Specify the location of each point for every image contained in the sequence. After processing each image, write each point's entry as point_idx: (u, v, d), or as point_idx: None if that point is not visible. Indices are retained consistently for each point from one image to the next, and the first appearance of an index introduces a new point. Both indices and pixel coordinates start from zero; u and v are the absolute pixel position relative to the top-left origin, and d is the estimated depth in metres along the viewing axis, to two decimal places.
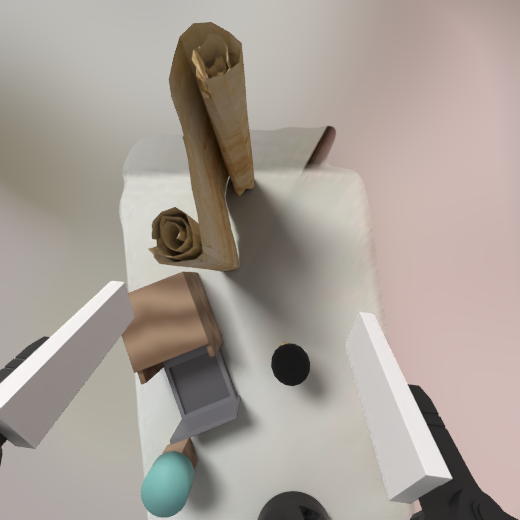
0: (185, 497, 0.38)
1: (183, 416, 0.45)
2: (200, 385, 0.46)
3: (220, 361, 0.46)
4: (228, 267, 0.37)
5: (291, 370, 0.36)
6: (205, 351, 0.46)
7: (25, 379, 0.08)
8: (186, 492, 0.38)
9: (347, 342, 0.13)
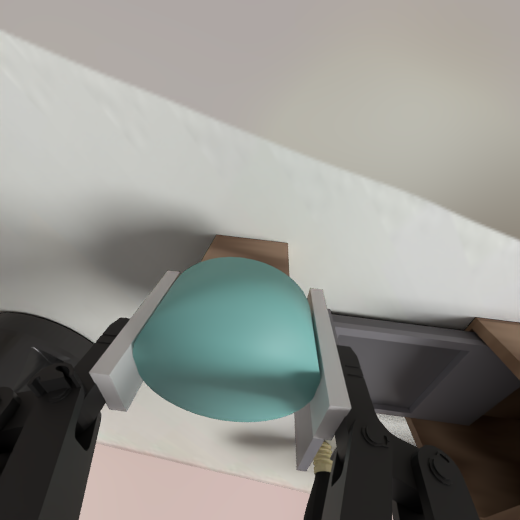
0: (184, 406, 0.11)
1: (339, 330, 0.17)
2: (370, 371, 0.20)
3: (382, 412, 0.23)
4: None
5: None
6: (422, 405, 0.21)
7: (124, 349, 0.09)
8: (198, 412, 0.12)
9: None
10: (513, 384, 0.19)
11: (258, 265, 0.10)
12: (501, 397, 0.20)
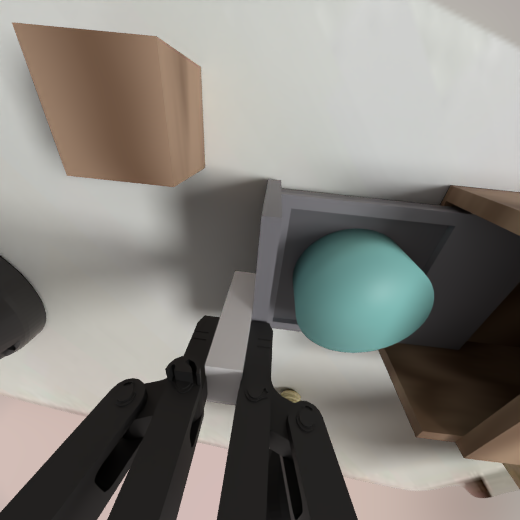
0: (399, 338, 0.15)
1: (290, 201, 0.13)
2: None
3: None
4: None
5: None
6: None
7: (226, 344, 0.09)
8: (410, 332, 0.14)
9: None
10: (510, 279, 0.15)
11: (296, 267, 0.16)
12: (496, 302, 0.16)
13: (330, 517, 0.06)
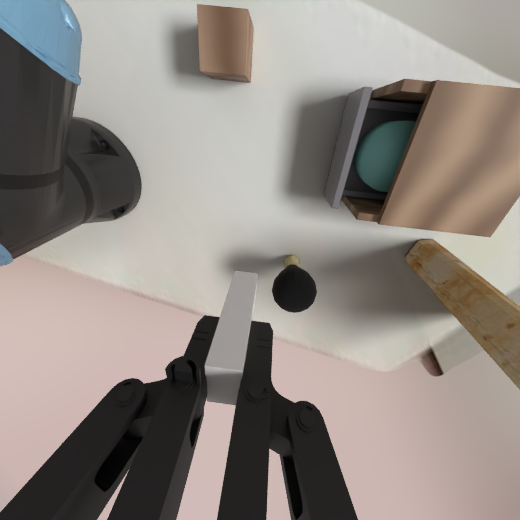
0: None
1: None
2: None
3: None
4: (446, 301, 0.29)
5: (296, 303, 0.31)
6: None
7: (226, 344, 0.09)
8: None
9: None
10: None
11: (357, 147, 0.30)
12: None
13: (330, 517, 0.06)
